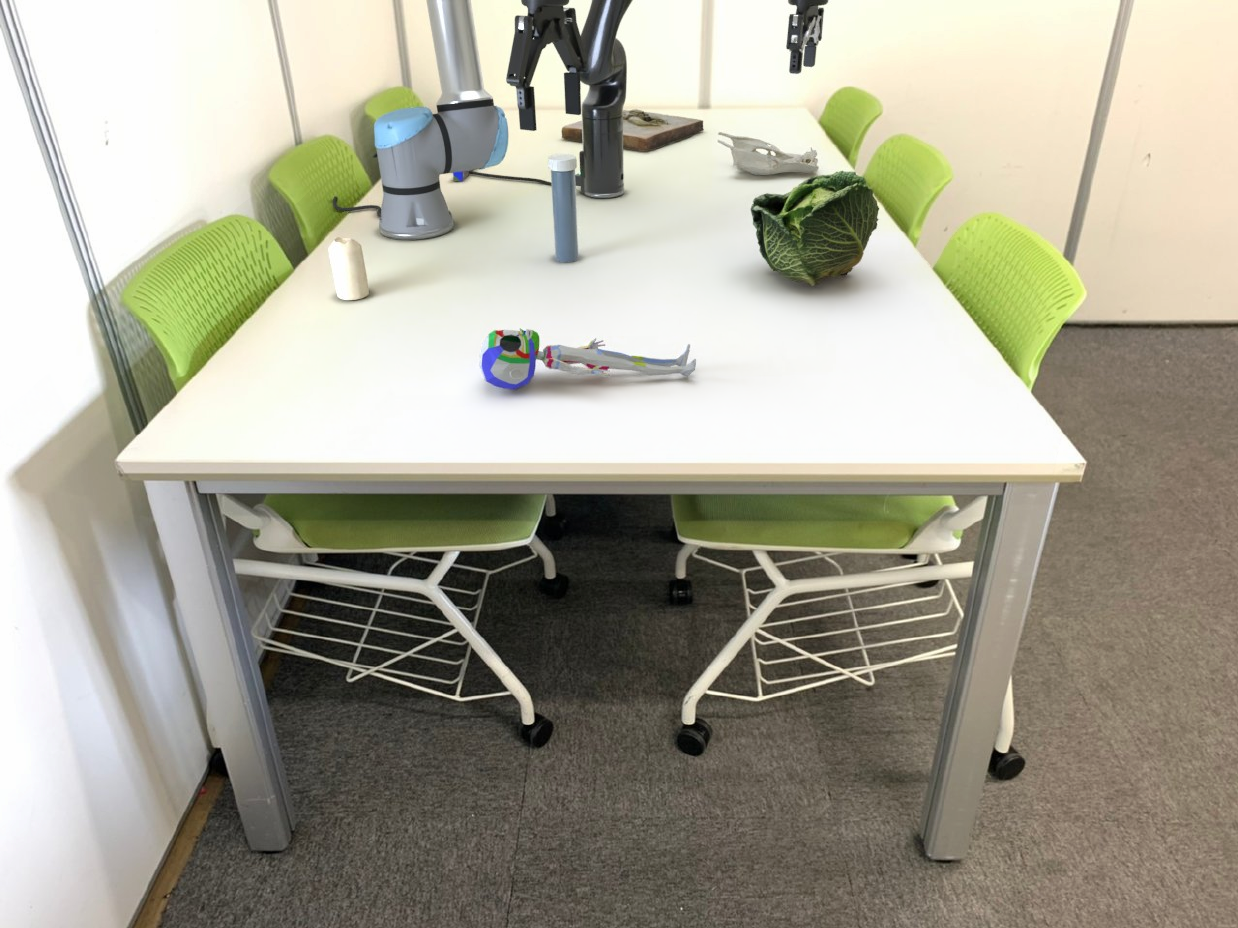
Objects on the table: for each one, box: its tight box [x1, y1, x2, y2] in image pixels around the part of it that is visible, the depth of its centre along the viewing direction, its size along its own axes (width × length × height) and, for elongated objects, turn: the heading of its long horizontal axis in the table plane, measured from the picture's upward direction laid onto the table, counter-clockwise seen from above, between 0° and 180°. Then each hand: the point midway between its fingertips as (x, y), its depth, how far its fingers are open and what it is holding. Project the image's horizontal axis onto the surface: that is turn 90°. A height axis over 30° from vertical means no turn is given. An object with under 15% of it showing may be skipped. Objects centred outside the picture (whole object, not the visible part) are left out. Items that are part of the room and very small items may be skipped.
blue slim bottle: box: [550, 169, 579, 263], centre depth 167 cm, size 4×4×18 cm
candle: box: [327, 236, 370, 301], centre depth 154 cm, size 6×6×10 cm
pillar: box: [452, 170, 474, 182], centre depth 227 cm, size 2×2×20 cm
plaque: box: [561, 108, 705, 152], centre depth 257 cm, size 30×7×30 cm
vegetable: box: [749, 170, 880, 287], centre depth 157 cm, size 20×19×20 cm
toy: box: [478, 328, 697, 391], centre depth 127 cm, size 10×8×30 cm
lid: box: [547, 153, 578, 172], centre depth 162 cm, size 5×5×2 cm
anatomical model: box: [716, 131, 820, 176], centre depth 220 cm, size 15×9×25 cm
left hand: (551, 122), depth 149 cm, fingers open, 13 cm apart
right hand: (802, 70), depth 176 cm, fingers open, 8 cm apart
